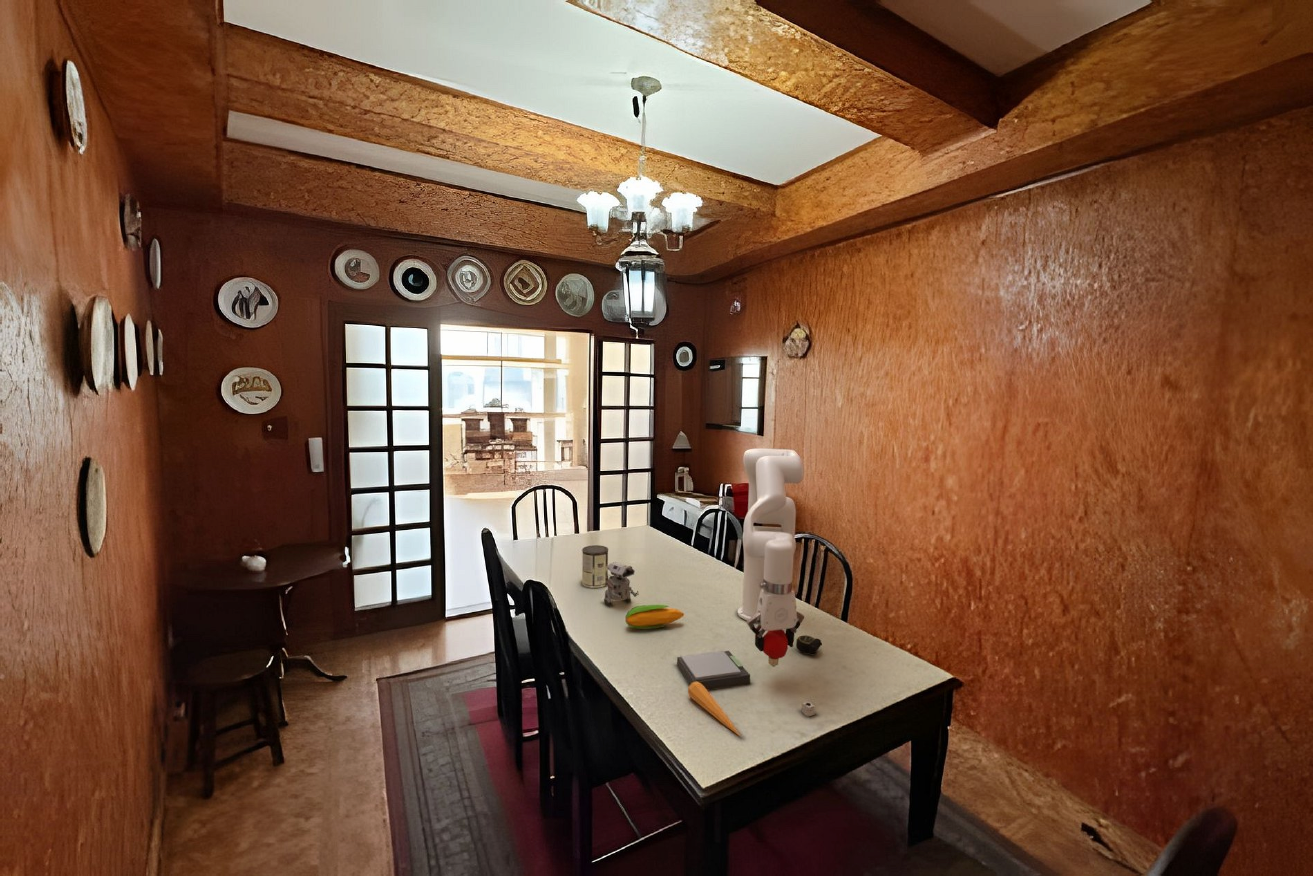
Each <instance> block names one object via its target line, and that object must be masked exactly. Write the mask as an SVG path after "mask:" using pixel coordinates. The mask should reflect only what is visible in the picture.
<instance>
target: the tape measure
mask: <svg viewBox="0 0 1313 876" xmlns="http://www.w3.org/2000/svg"><path fill="white" fill-rule="evenodd" d="M821 646H823V642H822V641H821V639H820V638H815V637H813V636H811V635H805V634H803V635H799V636H798V637H797V638H796V641H795V647H796V649H797V651H798V652H800V653H802V654H805V655H813V656H815V655H816V654H817V652H818V651H819V649H820V648H821Z"/></svg>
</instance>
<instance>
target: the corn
mask: <svg viewBox="0 0 1313 876" xmlns="http://www.w3.org/2000/svg"><path fill="white" fill-rule="evenodd" d="M684 615H685V613H684V612H682V611H681V610H680V609H677V608H669V605H666V604H648V605H646V604H645V605H637V606H634V607H632V608H631V609H629V610H628V611H627V612H626V614H625V624H627V625H628V626H629V627H631V628H632V629H635V630H636V629H637V630H650V629H658V628H664V627H667V625H669V624H672V623H674V622H676V621H678V620H680V619H681V618H683V617H684Z"/></svg>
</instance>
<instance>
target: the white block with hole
mask: <svg viewBox="0 0 1313 876" xmlns="http://www.w3.org/2000/svg"><path fill="white" fill-rule="evenodd" d="M815 711H816V706H815V704H814V703H813V704H812V702H810V701H806V702H803V703H802V704H801V712H802V714H804V715H805V716H806V717H808V718H809V717H811V716H815V714H816V713H815Z"/></svg>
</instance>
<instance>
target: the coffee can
mask: <svg viewBox="0 0 1313 876" xmlns="http://www.w3.org/2000/svg"><path fill="white" fill-rule="evenodd" d="M581 552H582V561H581V562H582V564H581V565H582V568H581V569H582V570H581V571H582V576H581V577H582V581H581V582H582V583H581V584H582V586H584V587H586V588H592V589H598V588H603V587H605V586H607V585H605V580H606V579H605V578H606V576H607V575H608V576H609V570H608V569H607V566H608V565H609V548H608V547H607V546H605V545H600V544H599V545H598V544H596V545H587V546H584V547H583V548H582V549H581Z"/></svg>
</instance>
